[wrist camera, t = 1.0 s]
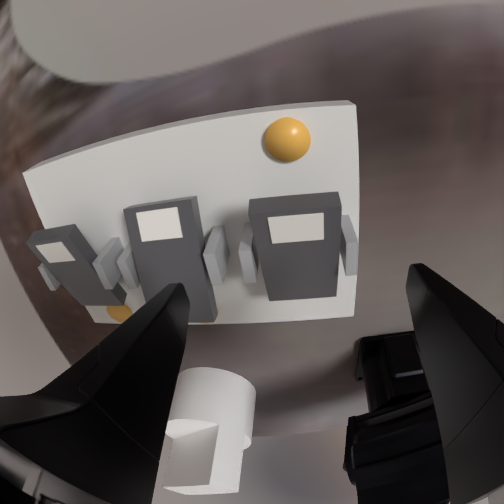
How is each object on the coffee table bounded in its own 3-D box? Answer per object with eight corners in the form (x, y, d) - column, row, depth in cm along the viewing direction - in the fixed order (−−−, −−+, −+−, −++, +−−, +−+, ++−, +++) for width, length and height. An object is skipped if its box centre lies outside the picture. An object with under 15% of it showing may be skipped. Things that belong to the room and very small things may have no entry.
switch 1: (127, 293, 21) (123, 306, 20) (85, 294, 21) (81, 306, 21) (75, 223, 16) (67, 237, 15) (32, 231, 16) (25, 244, 16)
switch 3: (334, 282, 19) (336, 297, 18) (269, 287, 19) (269, 302, 19) (338, 191, 13) (342, 207, 13) (249, 199, 14) (247, 215, 13)
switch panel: (349, 297, 23) (359, 347, 19) (103, 307, 26) (82, 346, 22) (347, 100, 15) (371, 114, 11) (39, 162, 18) (-4, 190, 14)
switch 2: (217, 313, 18) (213, 322, 17) (157, 314, 19) (151, 323, 18) (196, 195, 16) (190, 199, 15) (131, 205, 17) (122, 209, 16)
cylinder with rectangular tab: (205, 356, 28) (179, 474, 18) (273, 392, 31) (266, 497, 21) (161, 383, 33) (134, 477, 23) (222, 414, 35) (208, 500, 26)
